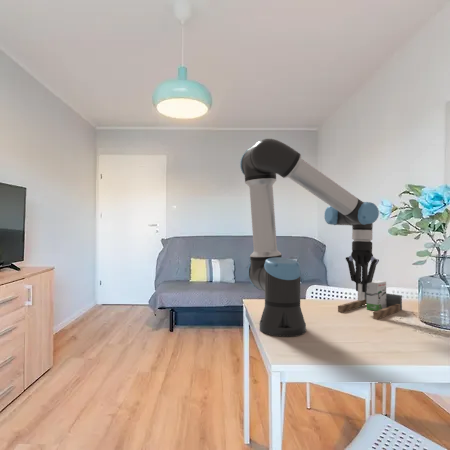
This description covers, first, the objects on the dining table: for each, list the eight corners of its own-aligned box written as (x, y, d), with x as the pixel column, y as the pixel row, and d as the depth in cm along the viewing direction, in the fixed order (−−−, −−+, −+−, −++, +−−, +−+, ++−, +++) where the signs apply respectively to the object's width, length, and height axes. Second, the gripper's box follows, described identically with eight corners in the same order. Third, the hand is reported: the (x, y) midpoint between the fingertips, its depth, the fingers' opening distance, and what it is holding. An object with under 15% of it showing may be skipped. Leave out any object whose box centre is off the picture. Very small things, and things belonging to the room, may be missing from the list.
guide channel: (377, 319, 125) (376, 303, 125) (338, 311, 137) (337, 297, 137) (401, 309, 141) (401, 295, 141) (365, 303, 153) (364, 290, 153)
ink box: (377, 311, 138) (377, 282, 138) (365, 309, 141) (365, 281, 142) (387, 308, 143) (386, 280, 143) (375, 306, 147) (375, 279, 147)
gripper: (382, 241, 133) (381, 301, 132) (351, 240, 142) (350, 296, 142) (374, 241, 128) (373, 303, 127) (342, 240, 137) (341, 298, 137)
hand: (361, 299), depth 134 cm, fingers closed
